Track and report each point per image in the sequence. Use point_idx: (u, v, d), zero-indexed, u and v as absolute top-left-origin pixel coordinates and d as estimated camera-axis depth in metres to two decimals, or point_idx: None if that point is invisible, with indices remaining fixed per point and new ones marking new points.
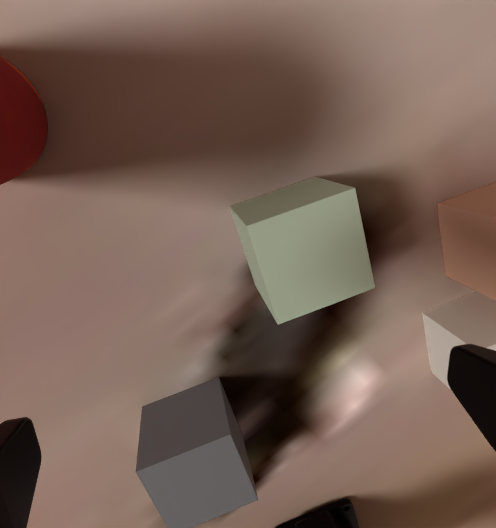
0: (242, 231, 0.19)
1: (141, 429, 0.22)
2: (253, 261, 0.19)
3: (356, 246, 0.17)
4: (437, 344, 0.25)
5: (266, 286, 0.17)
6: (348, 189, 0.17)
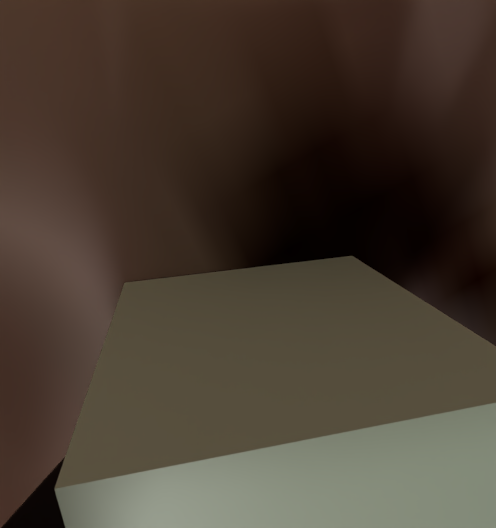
0: None
1: None
2: None
3: (349, 470, 0.04)
4: None
5: None
6: None
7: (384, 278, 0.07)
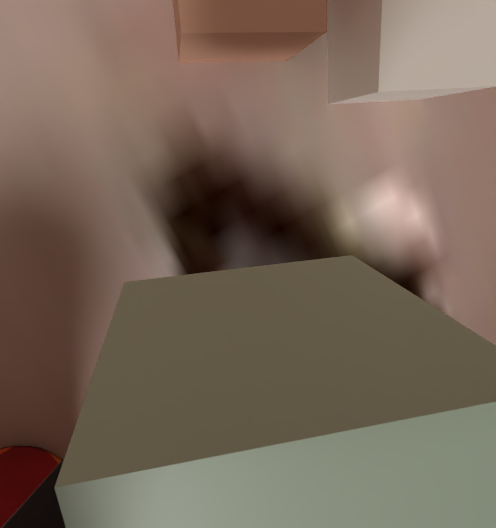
0: None
1: None
2: None
3: (348, 469, 0.04)
4: (374, 99, 0.18)
5: None
6: None
7: (384, 277, 0.07)
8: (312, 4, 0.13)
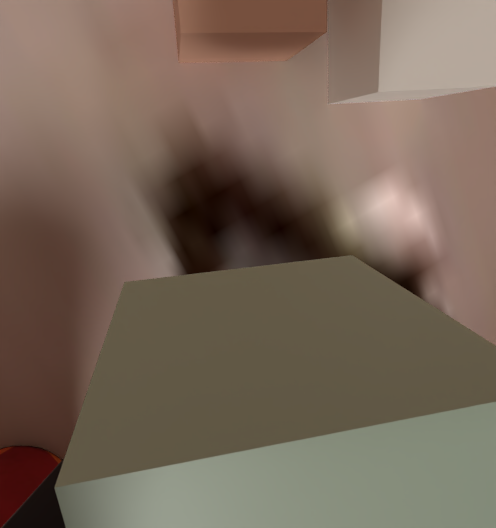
0: None
1: None
2: None
3: (348, 469, 0.04)
4: (374, 99, 0.18)
5: None
6: None
7: (384, 278, 0.07)
8: (311, 4, 0.13)
